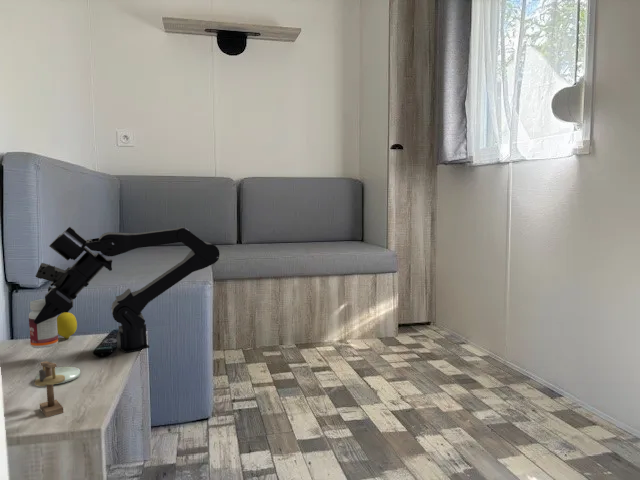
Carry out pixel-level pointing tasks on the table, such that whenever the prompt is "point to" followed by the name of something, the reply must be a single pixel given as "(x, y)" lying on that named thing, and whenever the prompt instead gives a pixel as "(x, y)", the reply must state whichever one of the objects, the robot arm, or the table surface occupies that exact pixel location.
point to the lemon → (66, 324)
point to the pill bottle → (42, 327)
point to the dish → (66, 373)
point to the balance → (49, 388)
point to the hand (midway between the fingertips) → (36, 319)
